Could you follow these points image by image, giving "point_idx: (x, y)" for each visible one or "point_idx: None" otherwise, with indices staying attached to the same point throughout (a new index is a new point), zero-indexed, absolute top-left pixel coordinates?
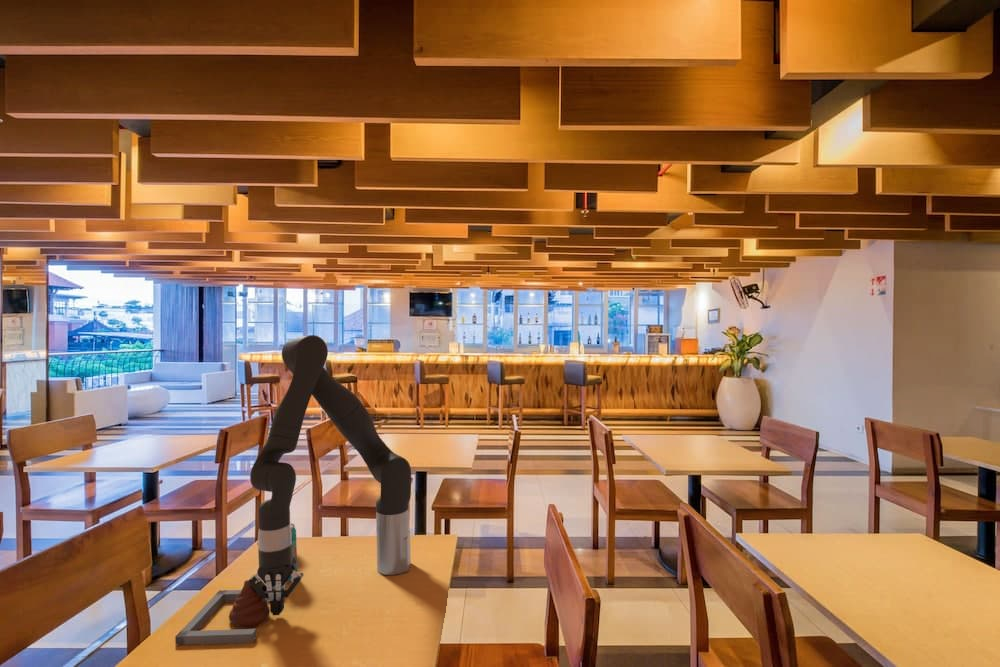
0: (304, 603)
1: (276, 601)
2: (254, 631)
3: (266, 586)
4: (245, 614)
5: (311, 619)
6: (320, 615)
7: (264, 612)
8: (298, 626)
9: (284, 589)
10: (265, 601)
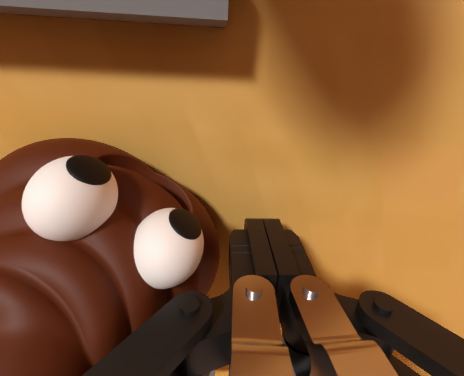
0: (379, 91)
1: (279, 321)
2: (214, 372)
3: (175, 357)
4: None
5: (415, 243)
6: (457, 217)
7: (206, 288)
8: (362, 283)
9: (346, 320)
10: (192, 287)
